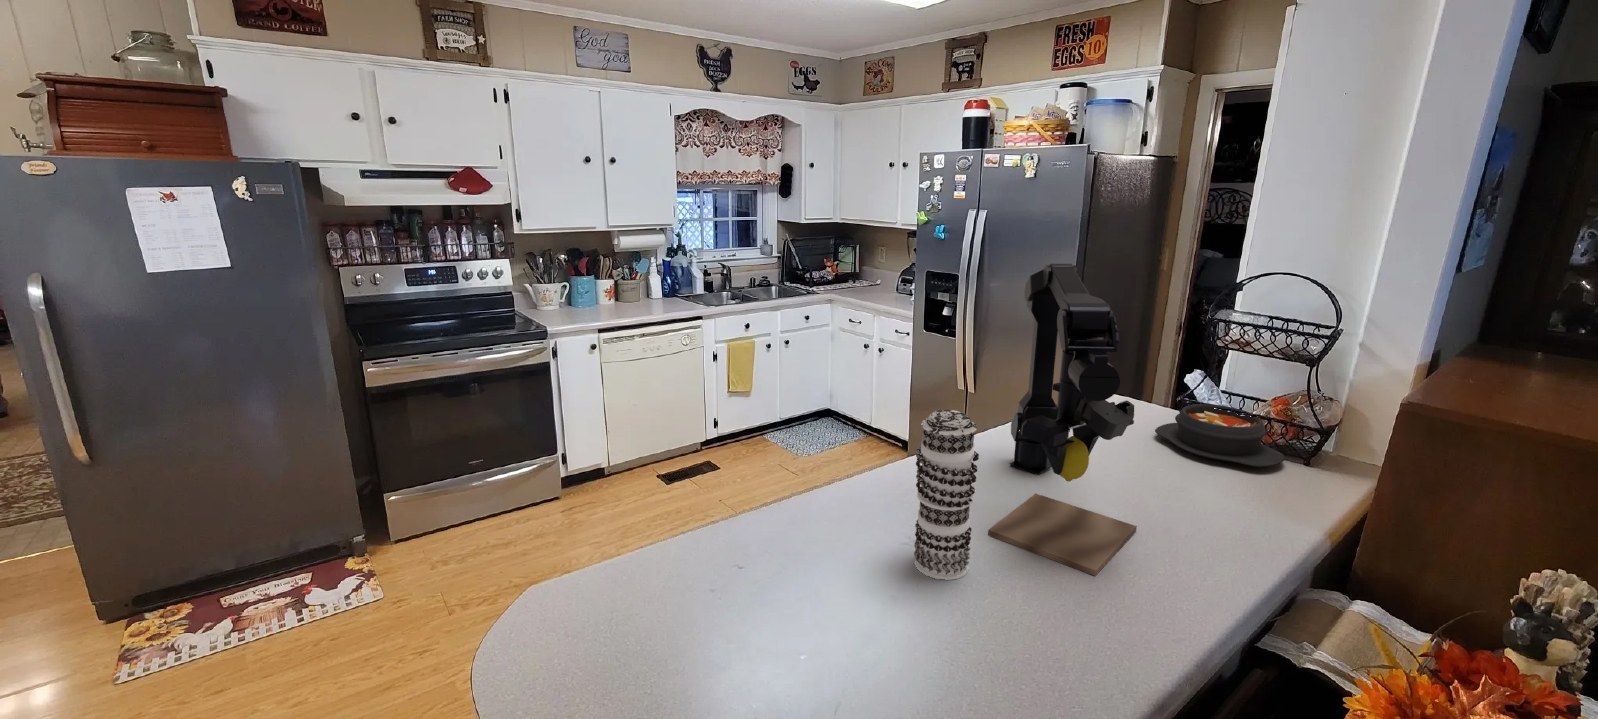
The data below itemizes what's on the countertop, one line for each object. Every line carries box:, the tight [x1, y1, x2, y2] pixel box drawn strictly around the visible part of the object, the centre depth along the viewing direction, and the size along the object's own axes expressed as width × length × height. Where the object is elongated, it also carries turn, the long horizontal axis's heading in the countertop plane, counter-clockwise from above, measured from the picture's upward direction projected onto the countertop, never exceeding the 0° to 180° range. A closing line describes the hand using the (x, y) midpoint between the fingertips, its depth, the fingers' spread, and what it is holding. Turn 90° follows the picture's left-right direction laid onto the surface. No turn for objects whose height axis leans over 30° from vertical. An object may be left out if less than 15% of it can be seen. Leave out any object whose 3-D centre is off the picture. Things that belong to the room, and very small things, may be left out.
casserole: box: [1154, 403, 1285, 468], centre depth 148 cm, size 25×19×8 cm
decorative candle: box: [913, 409, 980, 581], centre depth 105 cm, size 9×9×25 cm
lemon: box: [1059, 435, 1090, 482], centre depth 113 cm, size 6×6×8 cm
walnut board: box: [987, 493, 1138, 577], centre depth 117 cm, size 18×18×1 cm
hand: (1069, 469), depth 114 cm, fingers closed on lemon, 5 cm apart
